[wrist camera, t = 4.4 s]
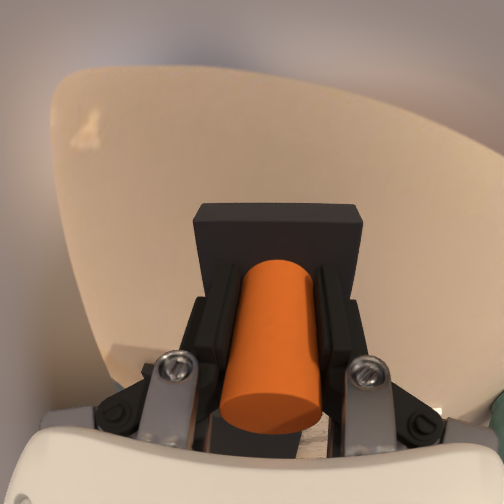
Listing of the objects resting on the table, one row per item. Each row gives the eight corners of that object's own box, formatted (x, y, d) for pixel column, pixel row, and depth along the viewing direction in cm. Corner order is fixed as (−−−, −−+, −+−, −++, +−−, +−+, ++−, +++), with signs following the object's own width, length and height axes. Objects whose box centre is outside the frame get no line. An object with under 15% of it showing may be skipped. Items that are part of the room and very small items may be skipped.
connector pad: (201, 202, 12) (130, 339, 6) (355, 203, 11) (415, 347, 5) (217, 313, 15) (187, 442, 9) (337, 315, 14) (353, 448, 9)
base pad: (144, 362, 27) (140, 372, 26) (311, 375, 25) (312, 386, 24) (191, 450, 40) (190, 456, 39) (293, 458, 38) (293, 465, 37)
